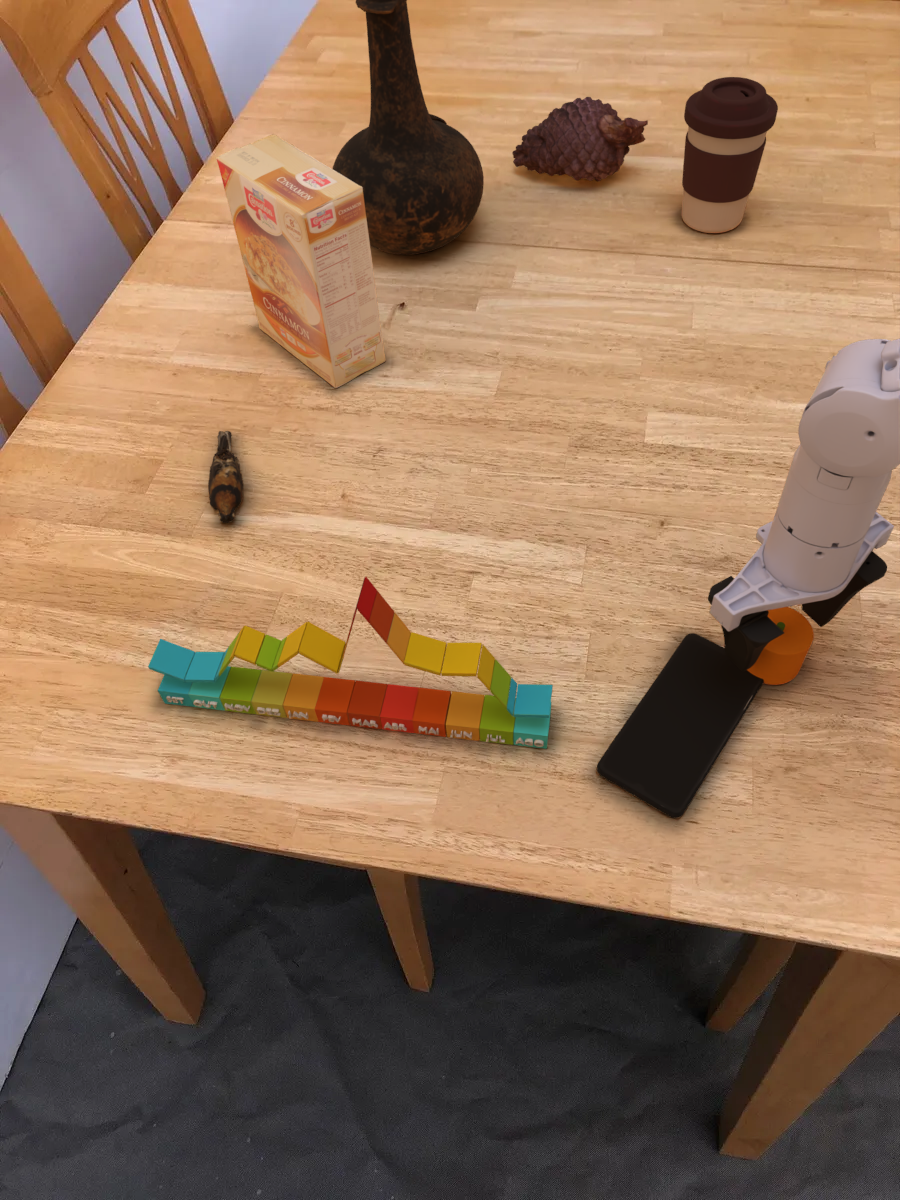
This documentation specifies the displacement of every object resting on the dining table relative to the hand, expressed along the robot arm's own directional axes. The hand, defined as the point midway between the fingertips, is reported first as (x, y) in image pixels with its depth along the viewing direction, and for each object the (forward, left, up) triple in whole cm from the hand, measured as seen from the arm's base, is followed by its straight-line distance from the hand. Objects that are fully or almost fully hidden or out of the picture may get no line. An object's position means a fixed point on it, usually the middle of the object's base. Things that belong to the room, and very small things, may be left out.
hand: (776, 638), depth 70 cm
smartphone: (0, +9, -3) cm, 10 cm away
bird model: (+45, +25, -3) cm, 52 cm away
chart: (+16, +29, -3) cm, 33 cm away
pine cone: (+68, -38, -3) cm, 78 cm away
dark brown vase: (+70, -13, -3) cm, 71 cm away
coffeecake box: (+58, +7, -3) cm, 59 cm away
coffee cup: (+49, -43, -3) cm, 65 cm away
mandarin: (0, 0, -3) cm, 3 cm away
